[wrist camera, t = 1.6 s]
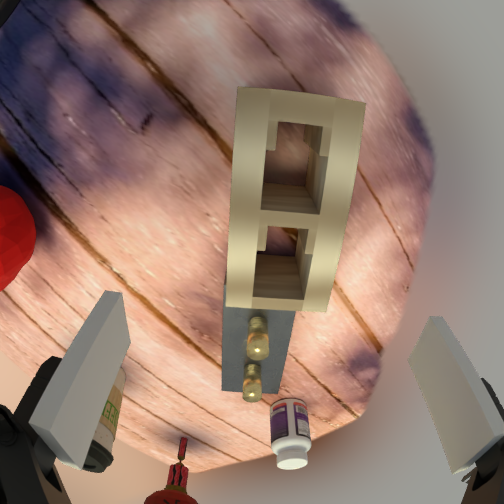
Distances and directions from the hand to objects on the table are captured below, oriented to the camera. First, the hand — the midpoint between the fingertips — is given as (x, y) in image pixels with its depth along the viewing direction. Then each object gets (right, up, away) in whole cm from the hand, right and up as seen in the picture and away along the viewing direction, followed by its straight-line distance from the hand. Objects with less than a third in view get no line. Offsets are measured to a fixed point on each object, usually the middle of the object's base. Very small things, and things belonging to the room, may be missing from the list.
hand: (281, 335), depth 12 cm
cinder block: (+1, +9, +15) cm, 17 cm away
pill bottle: (+4, -19, +30) cm, 36 cm away
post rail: (-1, -6, +22) cm, 23 cm away
